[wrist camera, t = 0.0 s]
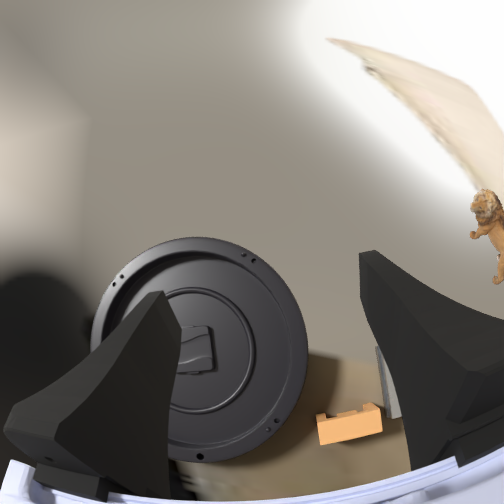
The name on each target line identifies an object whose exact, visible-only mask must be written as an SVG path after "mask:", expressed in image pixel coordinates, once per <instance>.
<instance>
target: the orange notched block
mask: <svg viewBox="0 0 504 504" xmlns="http://www.w3.org/2000/svg"><path fill="white" fill-rule="evenodd" d="M363 410H364V411H361V412H357V411H356V410H353V411H348V412H344V413H339V414H337V417H333V418H328V419H327V418H326V415H325V413H321V414H316V419H317V426H318V433H319V439H320V445H324V444H329V443H335V442H340V441H344V440H349V439H353V438H358V437H362V436H366V435H370V434H374V433H378V432H382V422H381V414H380V409H379V408H378V407H377V406H375V405H374V404H373V403H368V404H363Z"/></svg>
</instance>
